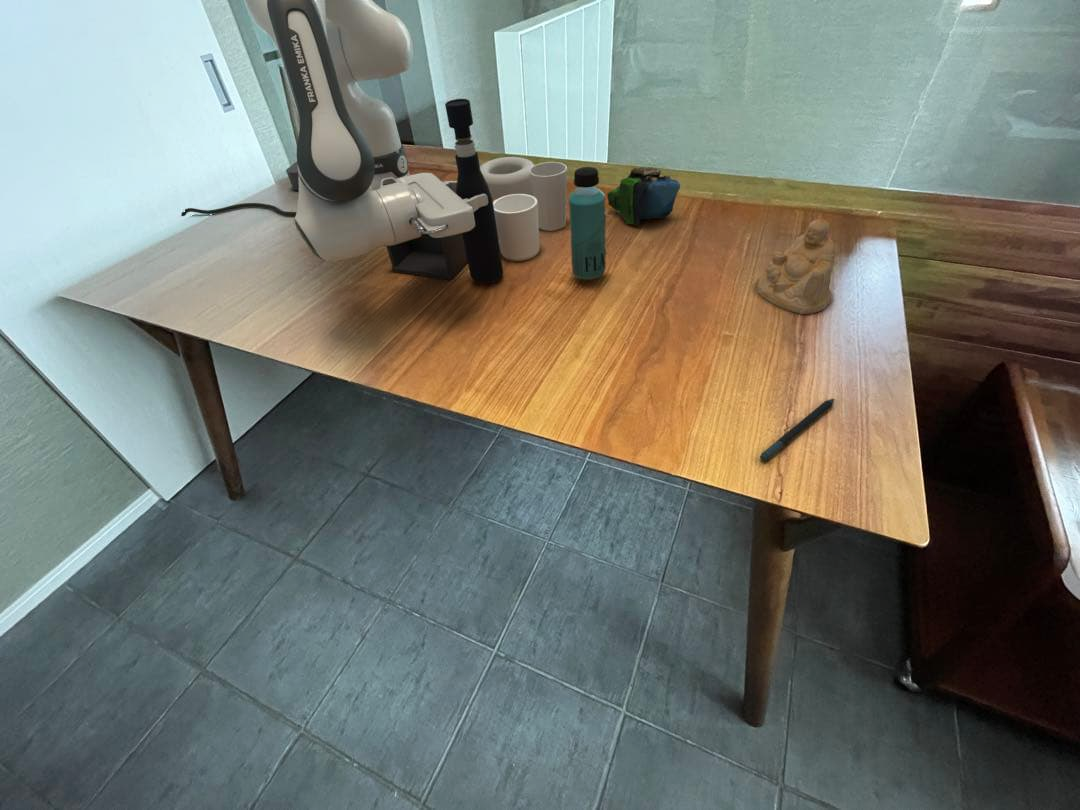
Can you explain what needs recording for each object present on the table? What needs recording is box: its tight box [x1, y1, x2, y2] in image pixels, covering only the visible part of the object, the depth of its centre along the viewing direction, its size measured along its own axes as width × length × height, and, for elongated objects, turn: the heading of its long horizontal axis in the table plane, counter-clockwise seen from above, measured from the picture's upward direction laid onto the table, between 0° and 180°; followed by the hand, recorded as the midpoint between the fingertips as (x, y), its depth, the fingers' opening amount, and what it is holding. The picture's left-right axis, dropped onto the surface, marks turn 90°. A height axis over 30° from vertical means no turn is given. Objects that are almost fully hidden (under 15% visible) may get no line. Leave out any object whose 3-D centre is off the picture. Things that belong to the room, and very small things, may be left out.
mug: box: [493, 194, 540, 262], centre depth 107 cm, size 11×9×10 cm
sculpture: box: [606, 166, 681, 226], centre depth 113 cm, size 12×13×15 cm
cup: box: [529, 161, 568, 232], centre depth 113 cm, size 8×8×12 cm
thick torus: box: [480, 156, 535, 202], centre depth 130 cm, size 15×15×7 cm
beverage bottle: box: [568, 166, 607, 280], centre depth 93 cm, size 6×7×20 cm
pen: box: [759, 398, 835, 462], centre depth 68 cm, size 1×16×1 cm, turn 128°
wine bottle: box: [444, 98, 504, 284], centre depth 91 cm, size 6×6×30 cm
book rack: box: [385, 233, 468, 281], centre depth 104 cm, size 14×8×12 cm, turn 68°
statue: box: [756, 218, 836, 315], centre depth 87 cm, size 12×14×10 cm
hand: (477, 191), depth 91 cm, fingers closed on wine bottle, 6 cm apart
